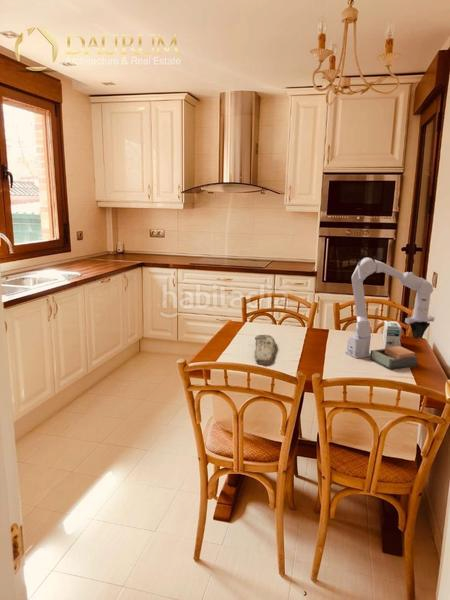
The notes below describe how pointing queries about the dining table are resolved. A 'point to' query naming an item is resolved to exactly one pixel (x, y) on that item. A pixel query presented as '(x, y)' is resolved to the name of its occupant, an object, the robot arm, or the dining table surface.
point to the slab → (399, 352)
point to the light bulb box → (391, 333)
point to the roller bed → (392, 360)
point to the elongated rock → (264, 349)
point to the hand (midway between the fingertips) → (417, 337)
